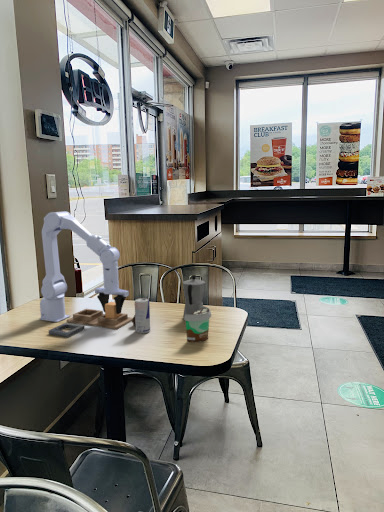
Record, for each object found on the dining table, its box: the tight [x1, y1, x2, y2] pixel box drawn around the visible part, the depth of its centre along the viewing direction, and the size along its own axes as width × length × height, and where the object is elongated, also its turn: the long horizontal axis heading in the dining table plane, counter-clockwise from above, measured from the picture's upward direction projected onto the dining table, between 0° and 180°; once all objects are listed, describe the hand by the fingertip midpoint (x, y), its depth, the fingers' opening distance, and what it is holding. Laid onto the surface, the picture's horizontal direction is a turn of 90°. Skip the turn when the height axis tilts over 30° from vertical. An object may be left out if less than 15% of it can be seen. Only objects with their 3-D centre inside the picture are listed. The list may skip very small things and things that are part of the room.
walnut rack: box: [66, 308, 133, 330], centre depth 155 cm, size 24×12×3 cm, turn 67°
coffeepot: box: [182, 274, 206, 320], centre depth 155 cm, size 15×9×18 cm, turn 168°
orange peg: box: [104, 301, 120, 319], centre depth 152 cm, size 4×4×7 cm
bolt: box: [131, 314, 136, 328], centre depth 155 cm, size 6×5×15 cm
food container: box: [183, 305, 212, 343], centre depth 134 cm, size 12×6×10 cm, turn 148°
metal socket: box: [48, 322, 86, 339], centre depth 143 cm, size 9×9×2 cm
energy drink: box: [134, 297, 151, 334], centre depth 142 cm, size 5×5×12 cm
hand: (112, 312), depth 152 cm, fingers open, 5 cm apart
